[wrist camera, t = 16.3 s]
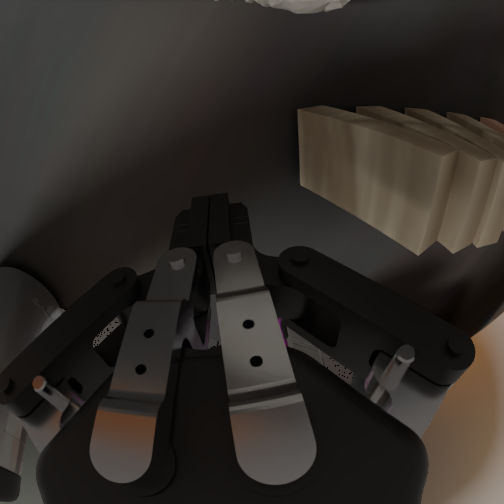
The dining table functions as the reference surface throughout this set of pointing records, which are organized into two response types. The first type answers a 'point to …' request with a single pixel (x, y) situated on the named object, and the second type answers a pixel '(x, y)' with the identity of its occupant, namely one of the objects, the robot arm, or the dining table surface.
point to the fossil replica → (302, 5)
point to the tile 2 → (464, 181)
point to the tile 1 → (377, 172)
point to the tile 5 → (493, 124)
